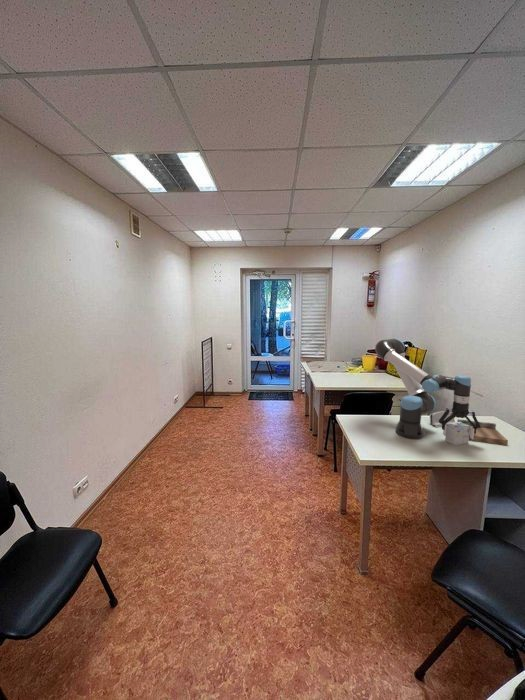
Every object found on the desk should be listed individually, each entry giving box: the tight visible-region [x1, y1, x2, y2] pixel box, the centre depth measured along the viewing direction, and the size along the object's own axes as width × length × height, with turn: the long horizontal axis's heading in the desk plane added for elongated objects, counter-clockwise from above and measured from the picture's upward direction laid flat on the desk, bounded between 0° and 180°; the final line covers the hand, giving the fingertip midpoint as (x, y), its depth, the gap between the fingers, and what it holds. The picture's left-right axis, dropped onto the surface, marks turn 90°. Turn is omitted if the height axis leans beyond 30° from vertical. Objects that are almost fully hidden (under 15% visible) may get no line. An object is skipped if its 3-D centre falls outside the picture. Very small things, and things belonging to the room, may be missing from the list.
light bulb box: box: [444, 421, 470, 446], centre depth 160 cm, size 11×7×11 cm, turn 106°
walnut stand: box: [457, 418, 509, 446], centre depth 168 cm, size 20×18×6 cm
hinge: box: [429, 410, 456, 428], centre depth 185 cm, size 17×5×10 cm, turn 98°
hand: (457, 436), depth 160 cm, fingers open, 13 cm apart
